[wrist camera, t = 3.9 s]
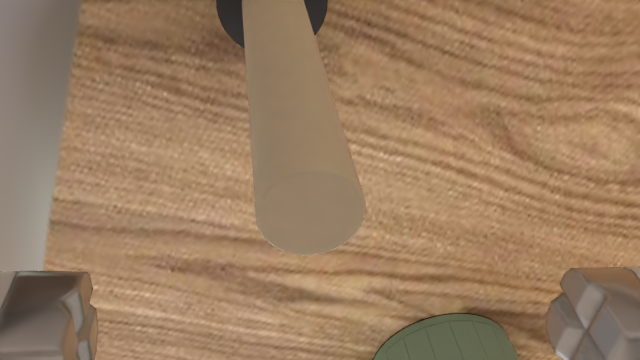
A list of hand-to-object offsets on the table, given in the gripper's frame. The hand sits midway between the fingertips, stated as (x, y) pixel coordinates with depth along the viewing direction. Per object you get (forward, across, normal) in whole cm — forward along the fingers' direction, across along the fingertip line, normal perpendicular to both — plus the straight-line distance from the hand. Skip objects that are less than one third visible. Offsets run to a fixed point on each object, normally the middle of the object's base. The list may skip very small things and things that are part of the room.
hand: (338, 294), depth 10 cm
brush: (+17, 0, 0) cm, 17 cm away
